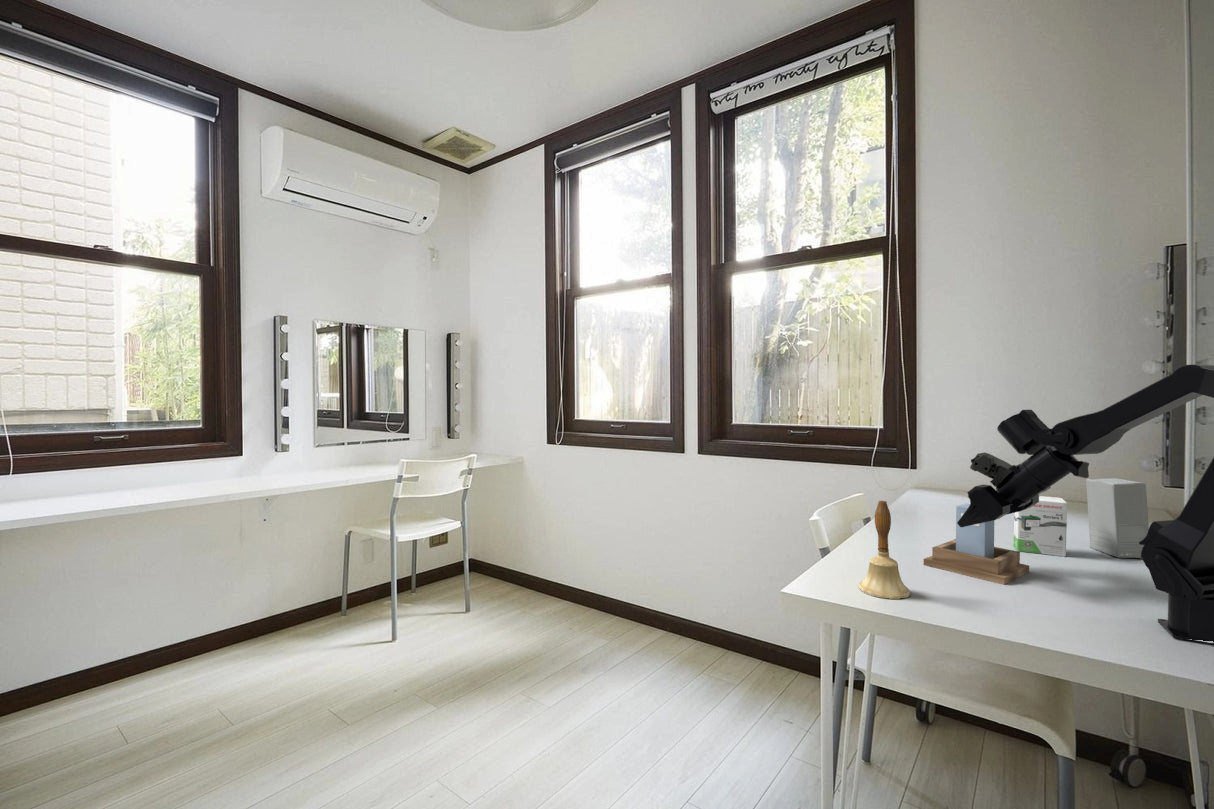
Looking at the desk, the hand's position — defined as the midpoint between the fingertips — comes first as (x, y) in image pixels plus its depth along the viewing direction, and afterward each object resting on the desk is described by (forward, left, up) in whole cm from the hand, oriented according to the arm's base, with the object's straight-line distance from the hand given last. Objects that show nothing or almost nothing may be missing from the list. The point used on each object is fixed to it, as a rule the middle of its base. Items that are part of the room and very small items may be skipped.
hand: (969, 521), depth 109 cm
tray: (0, -1, -9) cm, 9 cm away
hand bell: (-22, +14, -9) cm, 28 cm away
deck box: (0, -1, -8) cm, 8 cm away
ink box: (+20, -14, -9) cm, 26 cm away
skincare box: (+26, -28, -9) cm, 39 cm away
